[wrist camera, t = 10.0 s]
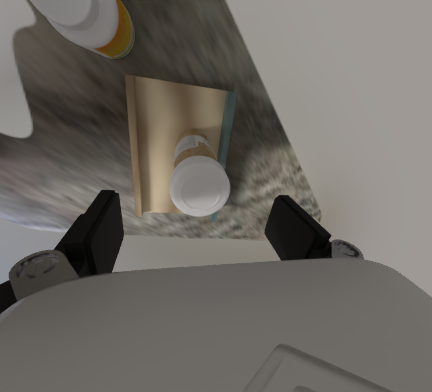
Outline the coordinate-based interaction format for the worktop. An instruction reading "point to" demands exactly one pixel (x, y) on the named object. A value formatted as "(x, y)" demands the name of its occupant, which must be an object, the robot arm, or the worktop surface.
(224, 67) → the worktop surface
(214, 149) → the shelf board
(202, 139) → the sprinkles bottle
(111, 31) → the supplement bottle
